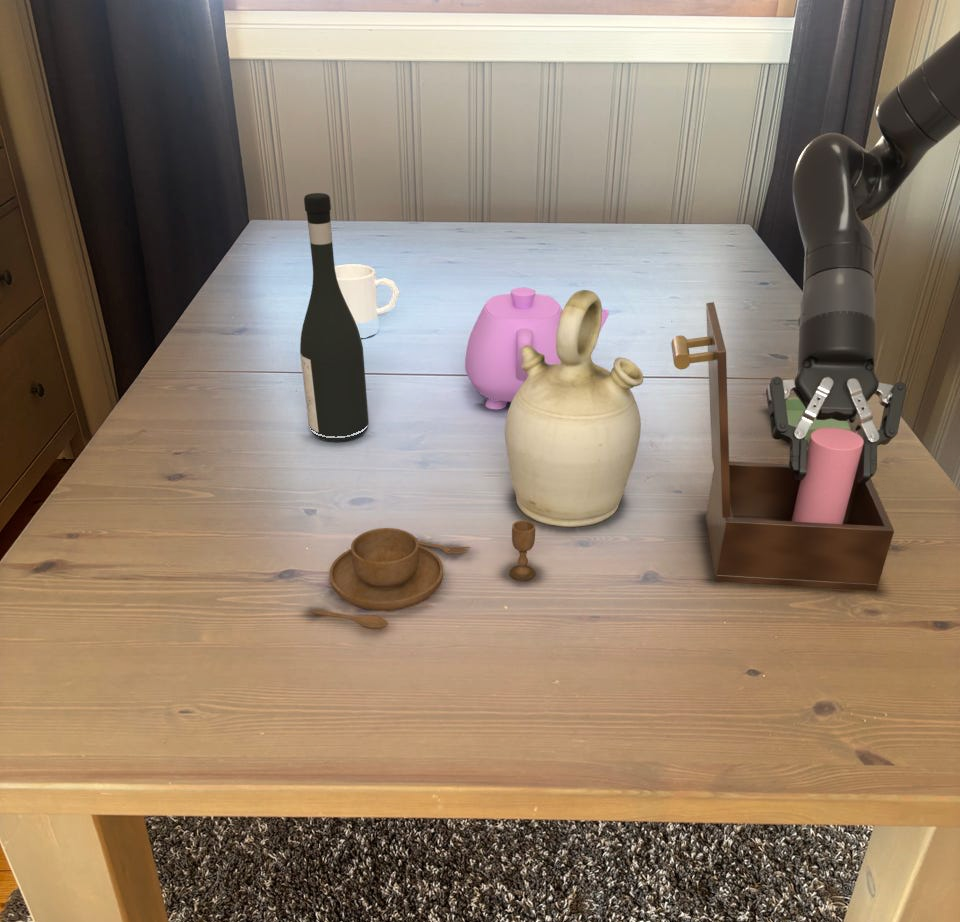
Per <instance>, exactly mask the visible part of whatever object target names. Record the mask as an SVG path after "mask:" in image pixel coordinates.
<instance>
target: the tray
mask: <svg viewBox="0 0 960 922" xmlns="http://www.w3.org/2000/svg"><path fill="white" fill-rule="evenodd" d="M785 402H786V410H787V417H788V424H789V425H791V426H794V427H796V425H797V423H798V421H799V419H800V417H801V415H802V413H803V411H804V410H805V406H804V405H803V404H802V402H801V401H800V399H799V398H798V397H788V399H787V400H786V401H785ZM821 428H841V429H845V430H849V431H852V430H851V429H850V426H849V424H848V422H847V421H838V420H835V419H826V420H816V418H815V419H814V421H813V423H812V425H811V426H810V428H809V430H808V432H807V434H806V436H805V440H808V443H807V445H809V441H810V436H811V434H812V432H813V431H815V430H817V429H821ZM852 432H853V431H852Z"/></svg>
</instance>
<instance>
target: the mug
mask: <svg viewBox="0 0 960 922" xmlns="http://www.w3.org/2000/svg"><path fill="white" fill-rule="evenodd" d="M335 273H336V277H337V281H338V284H339V287H340V290H341V292H342V295H343V297H344V299H345V301H346V304H347V306H348V308H349V310H350V312H351V314H352V316H353V318H354V320H355V322H356V324H358V323H365V322H369V321H371V320H373V319H375V318H377V316H378V317H379V315H382V314H385V313H387V312H389V311H391V310H393V309H394V307H395V305H396V302H397V301H398V298H399V295H400V294H401V292H400V289H399V288H398V286H397V284H396V282H395V281H394V280H392V279H389V278H387V277H382V278H378V279H377V273H376V270H375V269H374V268H373V267H372V266H370V265H367V264H360V263H359V264H358V263H346V264H339V265H335ZM380 285H382V286H386V287H388V288H389V289H390V291H391V293H392V295H391V298H390V300H389V302H388V303H387V304H385V305H384V306H382V307H379V304H378V289H377V287H378V286H380Z"/></svg>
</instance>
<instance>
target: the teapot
mask: <svg viewBox="0 0 960 922" xmlns="http://www.w3.org/2000/svg"><path fill="white" fill-rule="evenodd" d="M562 311H563V307H562V306H561V304H560V303H559V302H558V301H557V300H556V299H555V298H553V297H551V296H550V295H546V294H539V293H536V290H535V289H532V288H530V287H516V288H512V289H511V290H510V293H506V294H505V293H503V294H498V295H495V296H492V297H490V298H489V299H488V300H487V301H486V302H485V304H484V306H483V307H482V309H481V311H480V313H479V315H478V316H477V319H476V321H475V323H474V325H473V327H472V330H471V332H470V335H469V338H468V341H467V346H466V351H465V358H464V359H465V360H464V369H465V373H466V376H467V378H468V380H469V381H470V382H471V384H472V385H473V387H474V388H475V389H476V391H477V392H478V393H479V394H481V395H482V396H483V397H485V398H487V400H486V402H485V404H484V406H485V407H486V408H487V409H490V410H501V409H505V408H506V407H507V404H508V402H510V403H511V402H512V400H513V398H514V396H515V395H516V393H517V391H518V390H519V388H520V387H521V385H522V384H523V383H524V382H525V380H526V379H527V372H526V371H524V370H522V368H521V366H522V364H523V359H522V354H521V350H522V348H523V347H524V346H525V345H530V346H532V347H533V348H534V349H535V350H536V351H537V352H538V353H541V354H543V355H544V356H545V362H546V363H547V364H549V365H552V364H560V363H561V361H560V359H559V358H558V355H557V350H556V337H557V329H558V325H559V321H560V317H561V314H562ZM609 314H610V313H609V310H608V309H603V308H602V322H601V328H600V332H601V331H602V329H603V327H604V324H605V323H606V321H607V319H608V317H609ZM489 398H490V399H489ZM491 399H493V400H499V401H493V400H491Z"/></svg>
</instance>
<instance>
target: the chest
mask: <svg viewBox="0 0 960 922" xmlns="http://www.w3.org/2000/svg"><path fill="white" fill-rule="evenodd" d="M729 475H730V512H731V517H726V518H723V517H722V511H721V506H720V500H719V494H718V489H717V483H716V477H715V471H714V469H713V471H712V476H711V483H710V489H709V494H708V495H709V496H708V502H707V508H706V515H705V519H706V525H707V533H708V539H709V540H708V541H709V546H710V554H711V558H712V559H711V561H712V567H713V573H714V580H715V582H721V583H722V582H723V583H724V582H725V583H738V584H739V583H742V584H755V585H756V584H758V585H774V586H775V585H776V586H793V587H809V588H824V589H826V588H827V589H843V590H860V591H877V590H878V587H879V584H880V581H881V577H882V573H883V571H884V566H885V565H886V560H887V557H888V554H889V550H890V547H891V543H892V540H893V537H894V534H895V529H894V527H893V525H892V522H891V521H890V518H889V516H888V513H887V511H886V509H885V507H884V504H883V502H882V500H881V498H880V495H879V493H878V491H877V489H876V487H875V485H874V482H873V479H872V477H871V478H870V479H869V480H868V481H867V482H866V483H865V484H862V483H857V471H856V475H855V478H854V482H853V486H852V490H851V494H850V498H849V502H848V505H847V509H846V513H845V517H844V521H843V524H829V523H810V522H792V517H793V513H794V508H795V504H796V499H797V495H798V490H799V486H800V481H801V480H795V474H790V471H789V463H774V462H773V463H772V462H771V463H769V462H751V461H730V460H729Z"/></svg>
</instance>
